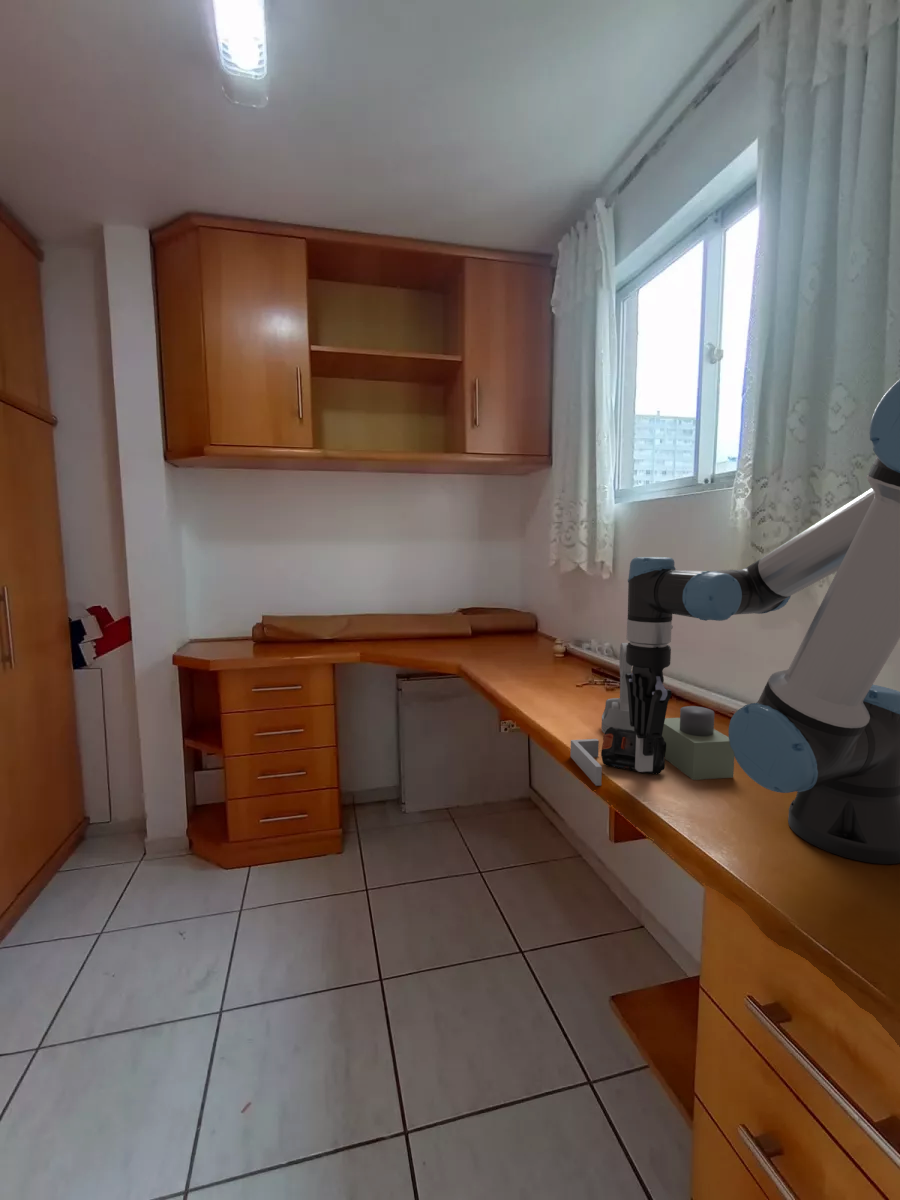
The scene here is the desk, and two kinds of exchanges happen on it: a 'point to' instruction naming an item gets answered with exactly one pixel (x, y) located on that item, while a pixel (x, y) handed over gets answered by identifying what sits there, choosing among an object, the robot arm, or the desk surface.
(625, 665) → the engine component
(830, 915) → the desk surface
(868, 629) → the robot arm
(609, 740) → the battery
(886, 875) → the desk surface
